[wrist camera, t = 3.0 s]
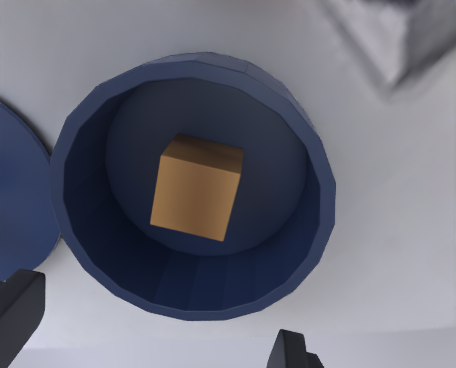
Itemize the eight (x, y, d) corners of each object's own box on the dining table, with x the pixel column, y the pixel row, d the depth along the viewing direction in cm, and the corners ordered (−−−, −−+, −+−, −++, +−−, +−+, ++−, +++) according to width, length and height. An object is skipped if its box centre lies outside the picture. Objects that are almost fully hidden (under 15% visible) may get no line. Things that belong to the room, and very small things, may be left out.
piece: (167, 192, 26) (149, 224, 22) (177, 132, 24) (160, 155, 20) (228, 207, 26) (223, 242, 22) (244, 148, 24) (241, 174, 20)
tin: (90, 234, 29) (46, 289, 23) (107, 25, 22) (52, 25, 16) (280, 279, 29) (286, 344, 23) (350, 85, 23) (383, 106, 17)
